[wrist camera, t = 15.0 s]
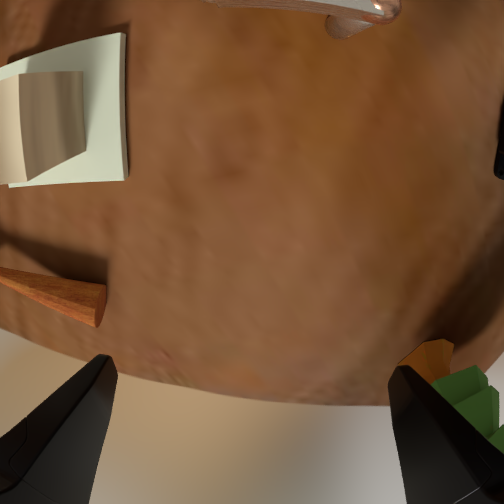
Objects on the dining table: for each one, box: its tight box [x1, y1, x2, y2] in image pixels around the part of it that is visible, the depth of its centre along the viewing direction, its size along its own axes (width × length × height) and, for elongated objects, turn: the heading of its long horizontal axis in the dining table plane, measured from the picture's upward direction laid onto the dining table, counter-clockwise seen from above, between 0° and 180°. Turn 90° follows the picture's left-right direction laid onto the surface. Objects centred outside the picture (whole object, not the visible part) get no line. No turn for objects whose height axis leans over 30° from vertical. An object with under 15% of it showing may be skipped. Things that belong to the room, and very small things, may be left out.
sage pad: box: [0, 32, 129, 188], centre depth 15 cm, size 10×9×1 cm
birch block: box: [0, 71, 86, 185], centre depth 12 cm, size 5×5×6 cm
